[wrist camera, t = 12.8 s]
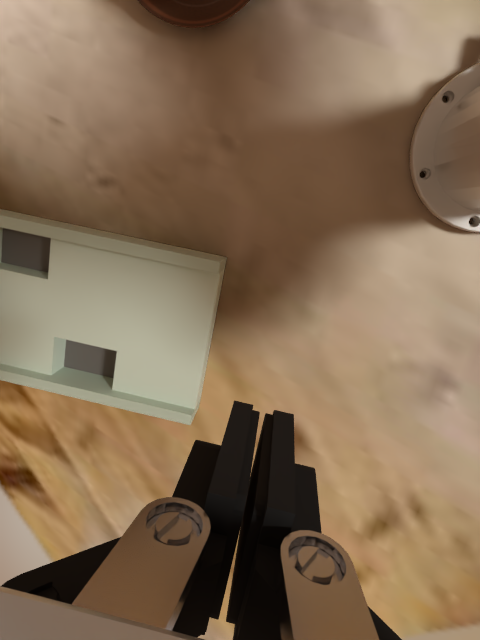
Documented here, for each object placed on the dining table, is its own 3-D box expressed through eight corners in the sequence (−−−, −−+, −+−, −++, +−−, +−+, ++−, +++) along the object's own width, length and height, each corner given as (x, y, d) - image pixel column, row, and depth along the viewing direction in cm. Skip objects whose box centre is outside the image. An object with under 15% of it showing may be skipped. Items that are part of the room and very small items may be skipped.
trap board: (226, 257, 38) (220, 262, 34) (198, 406, 42) (190, 425, 38) (-46, 199, 39) (-80, 197, 35) (-48, 348, 43) (-78, 361, 40)
